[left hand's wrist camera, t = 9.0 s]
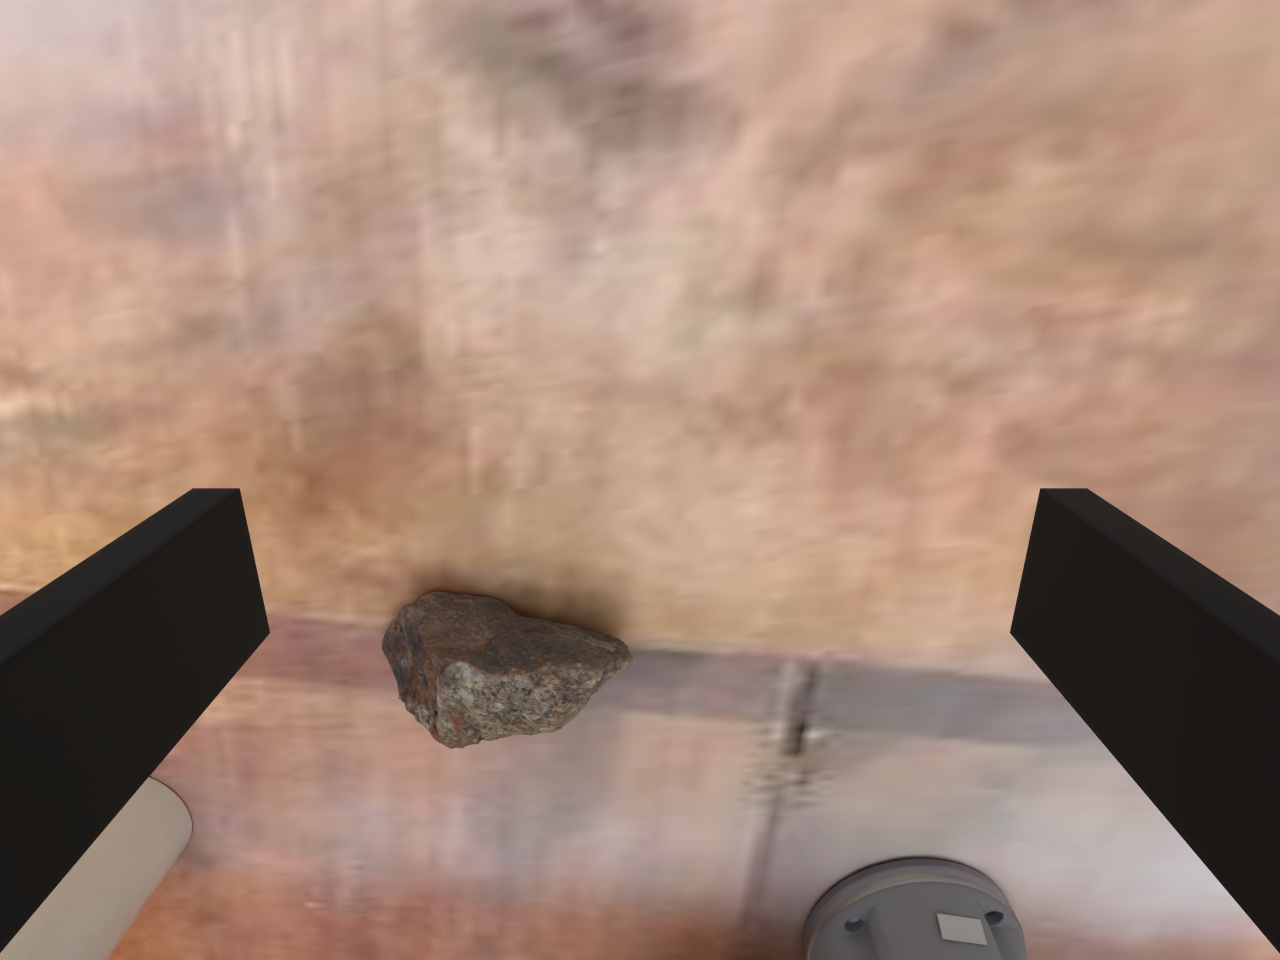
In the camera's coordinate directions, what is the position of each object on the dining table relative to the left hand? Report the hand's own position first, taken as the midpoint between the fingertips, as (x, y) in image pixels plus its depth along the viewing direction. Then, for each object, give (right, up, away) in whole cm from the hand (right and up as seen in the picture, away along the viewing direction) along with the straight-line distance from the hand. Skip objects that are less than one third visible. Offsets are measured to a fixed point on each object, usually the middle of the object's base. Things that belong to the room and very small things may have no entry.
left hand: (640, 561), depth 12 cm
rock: (-8, -9, +33) cm, 35 cm away
